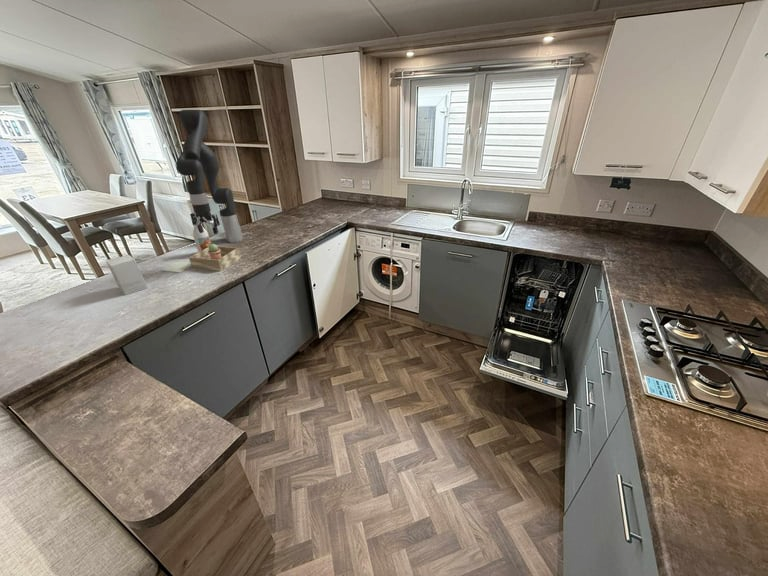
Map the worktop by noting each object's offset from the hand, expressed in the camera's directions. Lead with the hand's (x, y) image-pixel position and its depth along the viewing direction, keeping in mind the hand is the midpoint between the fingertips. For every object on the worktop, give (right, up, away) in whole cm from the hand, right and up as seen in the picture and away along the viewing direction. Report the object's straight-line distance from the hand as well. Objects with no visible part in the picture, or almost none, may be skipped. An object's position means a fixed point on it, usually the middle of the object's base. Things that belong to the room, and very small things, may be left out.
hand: (208, 233), depth 158 cm
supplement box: (-25, -30, -17) cm, 43 cm away
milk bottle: (-13, -9, +20) cm, 25 cm away
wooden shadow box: (0, -15, +9) cm, 17 cm away
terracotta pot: (0, -15, +9) cm, 17 cm away
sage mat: (-18, -18, +3) cm, 25 cm away
